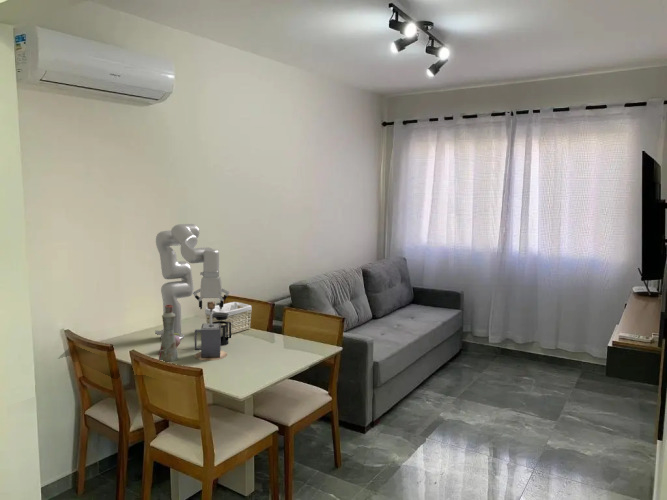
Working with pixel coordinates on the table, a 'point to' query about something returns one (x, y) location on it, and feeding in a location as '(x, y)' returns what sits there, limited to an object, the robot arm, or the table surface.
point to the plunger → (210, 306)
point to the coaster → (222, 355)
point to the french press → (223, 326)
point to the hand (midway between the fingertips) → (211, 308)
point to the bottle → (168, 337)
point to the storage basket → (233, 316)
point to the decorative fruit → (177, 339)
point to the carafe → (209, 340)
